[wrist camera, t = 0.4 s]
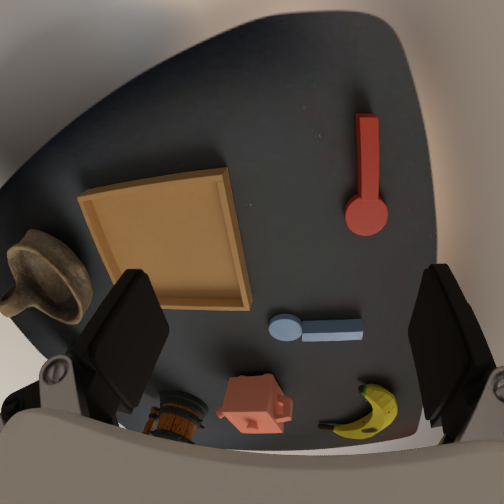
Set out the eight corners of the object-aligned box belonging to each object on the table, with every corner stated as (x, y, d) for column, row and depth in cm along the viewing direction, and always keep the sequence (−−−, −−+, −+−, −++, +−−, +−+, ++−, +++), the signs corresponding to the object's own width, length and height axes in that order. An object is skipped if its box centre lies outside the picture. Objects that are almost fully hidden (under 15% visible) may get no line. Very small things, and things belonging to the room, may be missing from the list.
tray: (87, 189, 29) (76, 197, 28) (227, 166, 26) (222, 174, 24) (131, 296, 38) (124, 306, 36) (252, 298, 34) (250, 310, 33)
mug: (195, 390, 49) (177, 447, 40) (217, 416, 54) (204, 467, 45) (139, 386, 53) (118, 435, 44) (164, 412, 58) (148, 456, 49)
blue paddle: (362, 311, 33) (364, 323, 31) (359, 333, 35) (360, 346, 34) (267, 313, 35) (265, 326, 34) (271, 335, 37) (269, 348, 36)
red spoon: (339, 113, 22) (342, 117, 20) (387, 113, 21) (393, 117, 19) (344, 231, 28) (346, 243, 26) (384, 230, 27) (389, 241, 25)
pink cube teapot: (211, 372, 45) (198, 418, 38) (287, 367, 41) (281, 418, 34) (231, 397, 48) (221, 438, 42) (300, 393, 45) (296, 439, 38)
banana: (397, 397, 36) (298, 399, 42) (395, 442, 43) (318, 442, 50) (398, 372, 39) (305, 376, 46) (396, 422, 47) (323, 423, 53)
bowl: (123, 295, 38) (88, 351, 30) (52, 303, 43) (21, 345, 35) (71, 204, 31) (16, 252, 23) (9, 235, 36) (-31, 273, 28)
